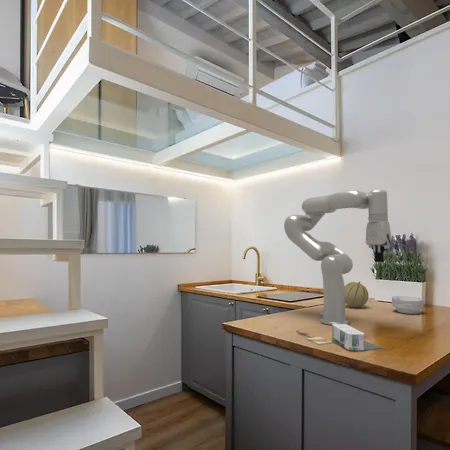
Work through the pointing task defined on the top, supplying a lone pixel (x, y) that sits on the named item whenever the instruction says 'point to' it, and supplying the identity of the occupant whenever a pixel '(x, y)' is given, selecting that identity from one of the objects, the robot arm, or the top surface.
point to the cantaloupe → (355, 294)
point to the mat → (366, 346)
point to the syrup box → (348, 336)
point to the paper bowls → (407, 304)
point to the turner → (314, 338)
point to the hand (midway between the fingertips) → (379, 261)
